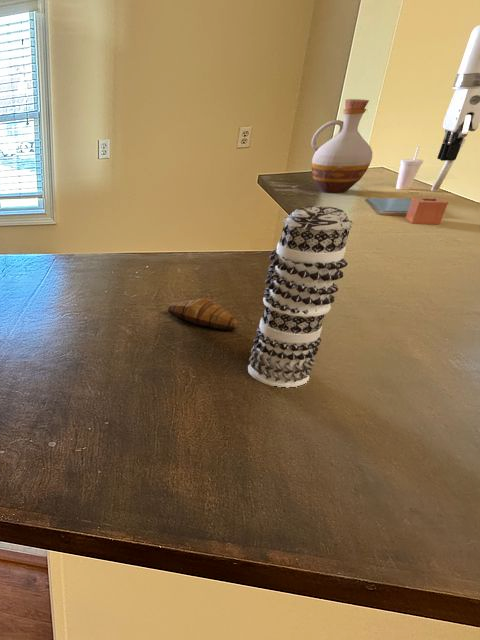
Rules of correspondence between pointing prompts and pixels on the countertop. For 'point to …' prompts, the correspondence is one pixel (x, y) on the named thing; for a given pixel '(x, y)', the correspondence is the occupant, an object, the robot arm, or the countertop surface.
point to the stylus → (443, 173)
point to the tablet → (390, 205)
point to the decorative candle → (299, 294)
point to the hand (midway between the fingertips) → (446, 159)
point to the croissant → (204, 313)
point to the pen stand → (426, 210)
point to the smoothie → (408, 172)
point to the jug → (342, 152)
